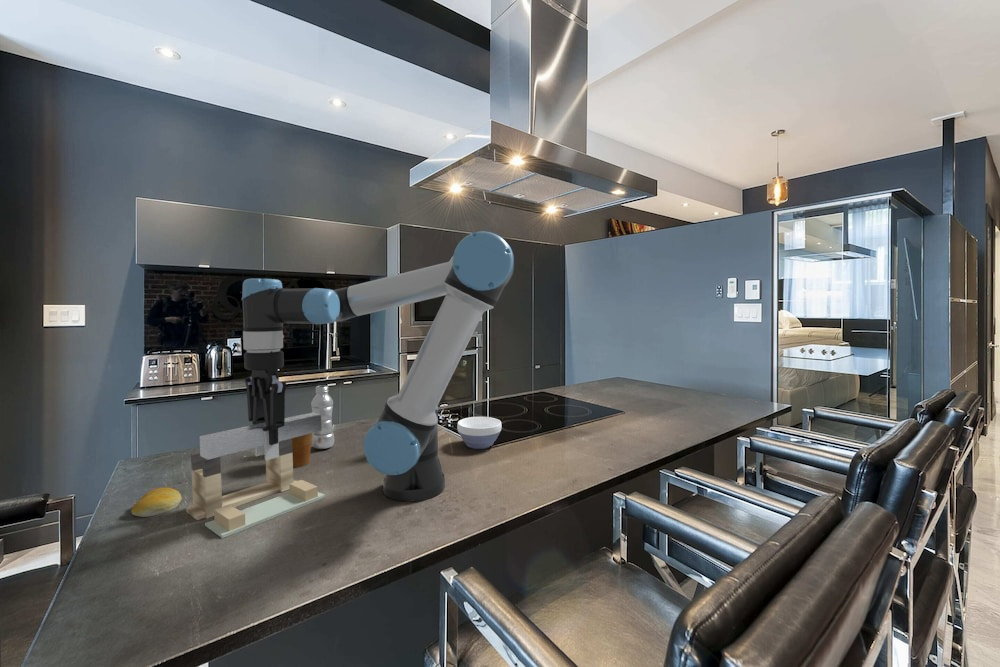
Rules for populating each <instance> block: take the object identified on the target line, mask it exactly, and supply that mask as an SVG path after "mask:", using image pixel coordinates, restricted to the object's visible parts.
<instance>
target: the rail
mask: <svg viewBox="0 0 1000 667" xmlns="http://www.w3.org/2000/svg"><path fill="white" fill-rule="evenodd" d="M263 428H266V422H264V423H260V424H255V425H253V424H251V425H247V426H241V427H237V428H233V429H228V430H223V431H217V432H214V433H208V434H204V435H199V452H200V456H201V457H203V458H205V459H207V460H208V459H212V458H216V457H220V458H221V457H224V456H228V455H231V454H235V453H239V452H243V451H246V450H250V449H255V448H256V447H260V446H264V431H263ZM319 431H321V414H317V413H314V412H312V411H311V412H309V413H307V412H306V413H302V414H299V415H293V416H290V417H285V425H284V427H280V428H279V429H278V438H279V441H283V440H287V439H291V438H295V437H299V436H303V435H307V434H311V433H312V434H313V433H315V432H319Z"/></svg>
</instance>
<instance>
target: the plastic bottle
mask: <svg viewBox="0 0 1000 667" xmlns="http://www.w3.org/2000/svg"><path fill="white" fill-rule="evenodd" d="M315 393H316V394H315V396H314V397H313V399H312V400H311V403H310V406H311V413H312V412H314V413H317V414H321V431H319V432H315V433H312V441H311V444H312V446H313V448H314V449H315V450H324V449H325V450H326V449H330V448H331V447H333V446H334V444H335V435H334V430H333V420H332V419H333V408H334V400H333V398H332V397H331V395H329V385H326V384H323V385H317V386H315Z"/></svg>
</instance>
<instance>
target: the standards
mask: <svg viewBox="0 0 1000 667" xmlns="http://www.w3.org/2000/svg"><path fill="white" fill-rule="evenodd" d="M190 463H191V464H190V465H191V485H192V486H191V488H192V505H191V506H188V507H186V513H187V514H189V516H191V517H192V518H193V519H195V520H197V521H200V520H203V519H209V518H212V517H213V518H214V510H215V509H218V508H221V507H224V506H226V505H229V504H230V505H232V506H233V507H235V508H237V507H239V506H243V505H245V504H248V503H251V502H254V501H256V500H260V499H262V498H265V497H268V496H271V495H274V494H277V493H279V492H281V493H282V492H285V491H290V485H289V484H290V483H293V482H296V481H297V480H296V479H294V467H293V452H292V438H291V439H287V440H283V441H279V457H277V458H273V459H270V460H265V476H266V477H265V479H266V480H265V482H262V483H259V484H256V485H252V486H250V487H247V488H244V489H241V490H237V491H235V492H231V493H227V494H224V495H223V493H222V492H223V490H222V489H223V488H222V470H221V467H222V466H221V463H222V462H221V456H220V457H216V458H212V459H208V460H207V459H205V458H203V457H201V456H200V451H199V452H194V453H192V454H190Z"/></svg>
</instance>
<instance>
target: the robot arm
mask: <svg viewBox="0 0 1000 667" xmlns="http://www.w3.org/2000/svg"><path fill="white" fill-rule="evenodd" d="M514 258H515V257H514V253H513V250H512V248H511V246H510V245H509V244H508V242H506V240H505V239H504V238H503V237H501V236H499V235H498V234H496V233H493V232H492V231H491V232H490V231H483V230H481V231H475V232H472V233H469V234H467V235H466V236H464V237H463V238H462V239H461V240H460V241H459V243H458V244H457V245H456V247H455V249H454V253H453V255H452V257H451V258H450V260H449V261H447V262H442V263H438V264H434V265H431V266H427V267H422V268H418V269H415V270H409V271H406V272H403V273H398V274H395V275H394V274H393V275H389V276H385V277H381V278H377V279H373V280H370V281H365V282H361V283H358V284H353V285H350V286H347V287H346V286H345V287H342V288H337V289H331V288H321V287H320V288H319V287H314V288H283V283H282V280H279V279H275V278H273V279H272V278H247V279H244V281H242V291H241V292H242V293H241V294H242V296H241V303H242V304H241V305H242V316H243V317H242V318H243V320H242V321H243V331H242V340H243V343H242V344H243V346H242V347H243V350H244V351H245V352H244V354H243V361H244V362H243V364H244V369H246V370H247V371H251V376H248V377H245V378H244V382H245V388H246V398H247V403H246V404H247V416H248V421H249V422H252V423H251V425H255V424H260V423H264V422H266V428H263V431H264V446H260V447H256V448H254V456H255V457H259V456H263V455H264V460H265V461H266V460H270V459H273V458H277V457H279V438H278V429H279V428H280V427H284V425H285V418H286V416H285V415H286V414H285V413H286V412H285V409H286V404H285V402H286V398H285V397H286V396H285V395H286V389H287V382H286V381H284V382H281V381H280V378H279V374H278V373H279V372H278V370H279V369H282V368H284V366H285V358H284V354H285V353H284V351H283V350H281V349H283V348H284V338H285V335H284V331H283V330H284V324H302V325H303V324H305V325H306V324H313V325H324V324H325V325H326V324H333V323H340V322H345V321H348V320H350V319H353V318H356V317H360V316H364V315H369V314H372V313H377V312H381V311H385V310H388V309H393V308H398V307H402V306H406V305H410V304H415V303H418V302H423V301H427V300H431V299H436V298H440V297H443V296H444V299H443V301H442V303H441V305H440V307H439V309H438V311H437V313H436V316H435V318H434V319H433V322H432V324H431V326H430V328H429V330H428V332H427V334H426V336H425V338H424V340H423V343H422V344H421V347H420V348H419V350H418V351H417V355H416V357H415V359H414V361H413V362H412V365H411V367H410V369H409V371H408V373H407V375H406V378H405V379H404V381H403V384H402V386H401V388H400V390H399V391H398V394H396V395H392V396H390V397H389V398H388V399H387V400H386V402H385V404H384V407H383V408H382V410H381V413H380V415H379V416H378V418H377V421H376V422H375V423H374V424H373V425H372V426H371V427H370V428H369V429H367V430H368V431H367V432H366V434H365V436H364V439H363V443H362V447H363V449H362V450H363V454H364V456H365V459H366V462H368V464H369V465H370V466H371V467H372V468H373V469H374V470H376V471H378V472H379V473H381V474H383V475H385V477H384V479H383V482H382V483H383V484H382V485H383V487H382V488H383V489H382V490H383V491H382V492H383V493H384V495H385V496H386V497H387V498H390V499H392V500H394V501H395V500H396V501H399V502H400V501H402V502H416V501H423V500H427V499H431V498H433V497H435V496H438V495H439V494H441V493H442V492H443V491H444V490H445V488H446V476H445V474H444V472H443V468H442V464H441V462H440V460H439V459H440V458H439V448H438V445H439V443H438V442H439V441H438V440H439V438H438V436H439V434H438V432H439V428H438V426H439V424H438V422H439V419H438V417H439V416H438V414H439V408H438V406H439V403H440V401H441V399H442V397H443V395H444V394H445V391H446V389H447V387H448V385H449V383H450V381H451V379H452V377H453V375H454V373H455V371H456V369H457V367H458V365H459V363H460V360H461V358H462V357H463V355H464V353H465V351H466V348H467V346H468V345H469V342H470V341H471V339H472V337H473V334H474V332H475V330H476V329H477V326H478V325H479V322H480V321H481V318H482V317H483V314H484V313H485V312H487V311H489V310H492V309H494V308H495V306H496V304H497V303H498V301H499V298H500V296H501V295H502V293H503V291H504V288H505V286H507V285H508V283H510V281H511V279H512V277H513V275H514V270H515V259H514Z"/></svg>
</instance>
